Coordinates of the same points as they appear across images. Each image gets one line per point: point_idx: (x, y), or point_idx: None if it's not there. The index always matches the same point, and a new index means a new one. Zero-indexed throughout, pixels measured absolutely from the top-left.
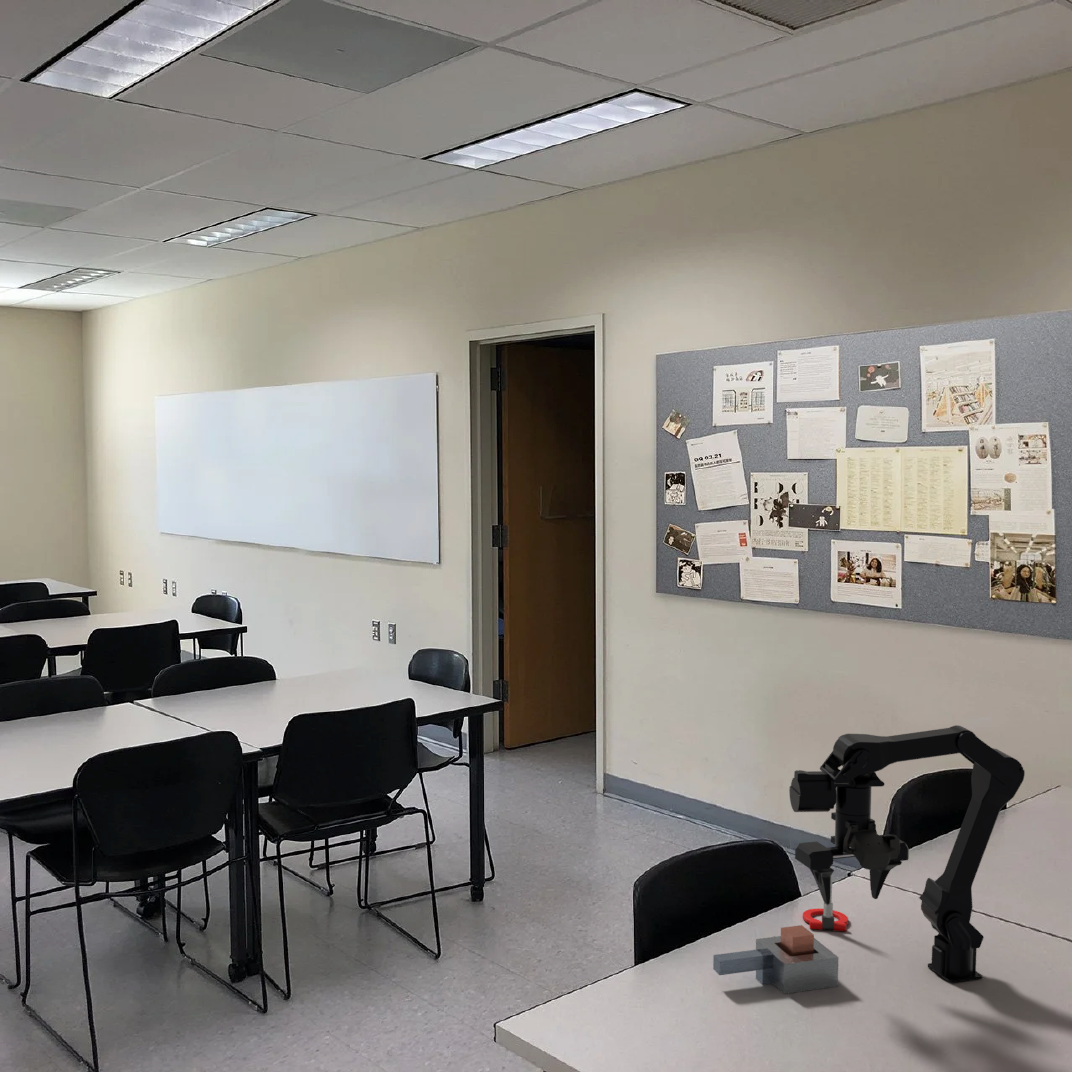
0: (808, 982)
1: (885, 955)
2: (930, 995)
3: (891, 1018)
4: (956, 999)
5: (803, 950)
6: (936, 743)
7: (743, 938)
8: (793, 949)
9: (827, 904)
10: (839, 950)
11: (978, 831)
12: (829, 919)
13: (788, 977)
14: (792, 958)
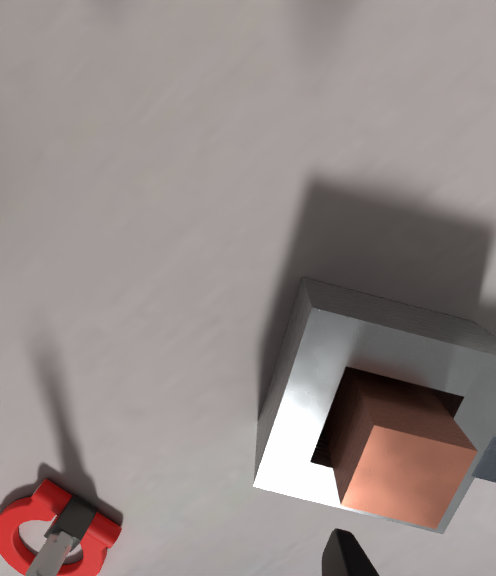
0: (406, 309)
1: (38, 340)
2: (88, 85)
3: (323, 29)
4: (28, 15)
5: (401, 398)
6: None
7: (306, 568)
8: (445, 415)
9: (349, 532)
10: (135, 419)
11: None
12: (67, 527)
13: (488, 338)
14: (469, 383)
